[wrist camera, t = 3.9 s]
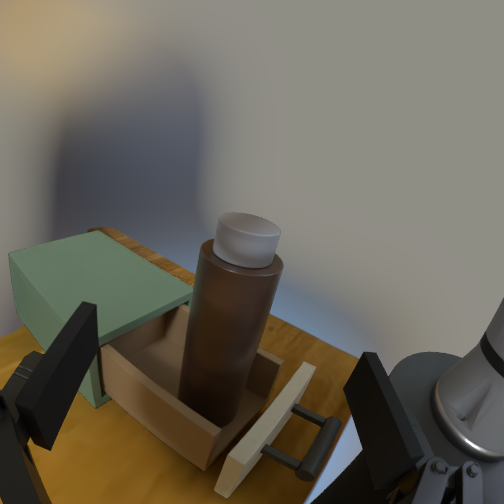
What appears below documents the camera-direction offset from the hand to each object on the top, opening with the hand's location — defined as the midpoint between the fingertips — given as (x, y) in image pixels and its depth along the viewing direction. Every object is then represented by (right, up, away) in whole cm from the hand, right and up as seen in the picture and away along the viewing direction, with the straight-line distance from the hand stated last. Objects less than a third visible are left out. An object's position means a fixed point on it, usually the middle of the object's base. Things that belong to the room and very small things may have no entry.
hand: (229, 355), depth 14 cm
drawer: (-3, -9, +10) cm, 14 cm away
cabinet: (-16, -4, +17) cm, 23 cm away
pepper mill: (-3, -8, +10) cm, 13 cm away
